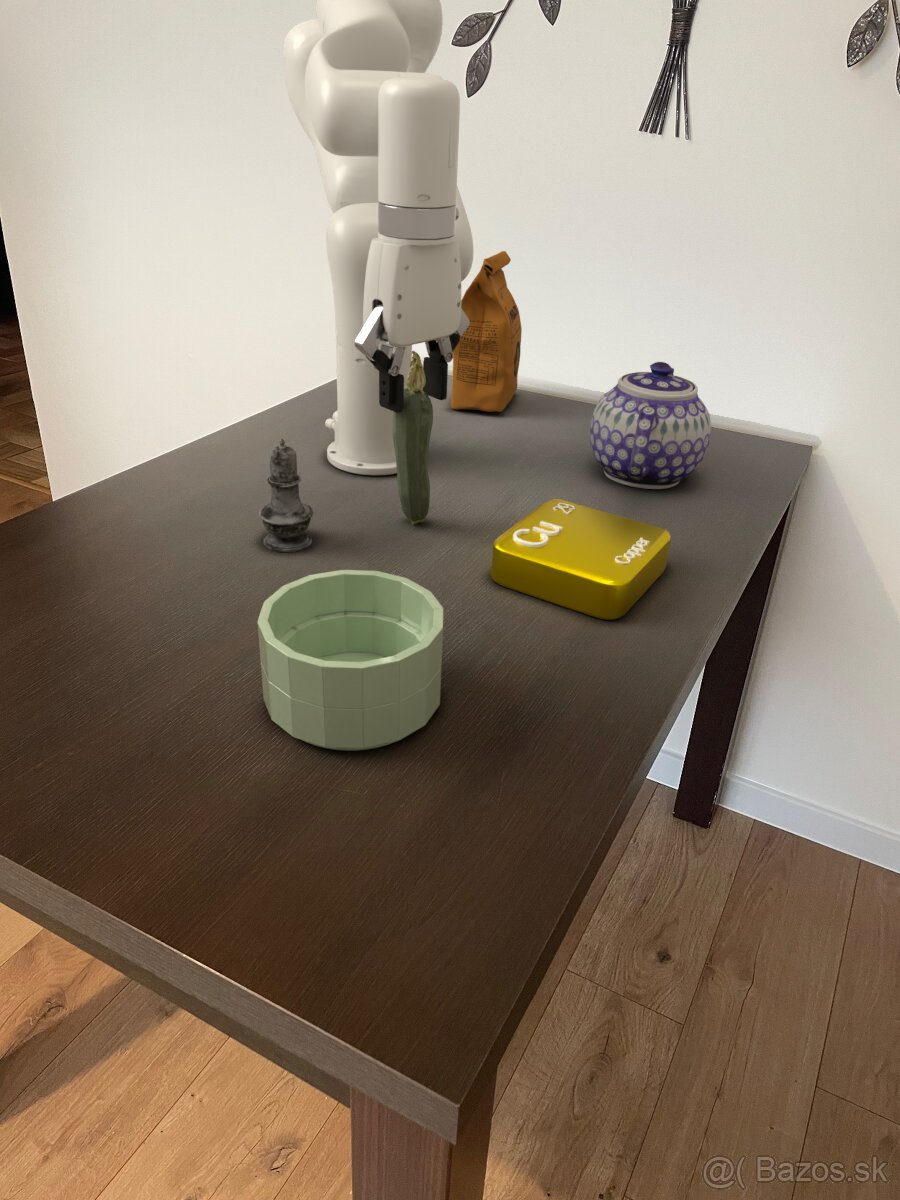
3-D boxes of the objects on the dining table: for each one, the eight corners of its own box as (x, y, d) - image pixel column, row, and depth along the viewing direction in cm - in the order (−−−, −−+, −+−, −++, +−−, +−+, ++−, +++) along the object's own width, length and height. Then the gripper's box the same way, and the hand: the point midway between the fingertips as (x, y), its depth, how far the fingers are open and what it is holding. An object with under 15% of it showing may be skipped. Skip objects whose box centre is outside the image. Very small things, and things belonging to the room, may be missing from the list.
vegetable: (424, 536, 104) (429, 361, 94) (387, 531, 105) (388, 357, 95) (433, 519, 108) (438, 350, 98) (397, 515, 109) (399, 346, 98)
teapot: (687, 523, 110) (711, 402, 102) (563, 499, 114) (576, 381, 106) (712, 451, 130) (733, 345, 123) (605, 433, 135) (619, 330, 127)
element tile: (616, 626, 89) (623, 583, 87) (483, 581, 96) (486, 540, 94) (670, 565, 101) (678, 526, 98) (548, 529, 107) (552, 491, 105)
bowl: (231, 695, 78) (222, 609, 73) (363, 632, 87) (362, 553, 82) (340, 783, 69) (338, 692, 65) (475, 703, 78) (480, 618, 74)
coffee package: (526, 396, 148) (538, 252, 136) (503, 420, 138) (514, 267, 126) (468, 387, 151) (475, 245, 139) (441, 410, 141) (446, 259, 129)
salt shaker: (324, 536, 103) (321, 435, 97) (295, 558, 99) (290, 453, 92) (280, 524, 105) (274, 424, 99) (250, 545, 101) (241, 442, 94)
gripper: (452, 210, 97) (445, 378, 106) (322, 225, 86) (328, 410, 96) (504, 221, 93) (493, 395, 102) (375, 237, 82) (375, 430, 91)
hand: (413, 401), depth 99 cm, fingers open, 5 cm apart
